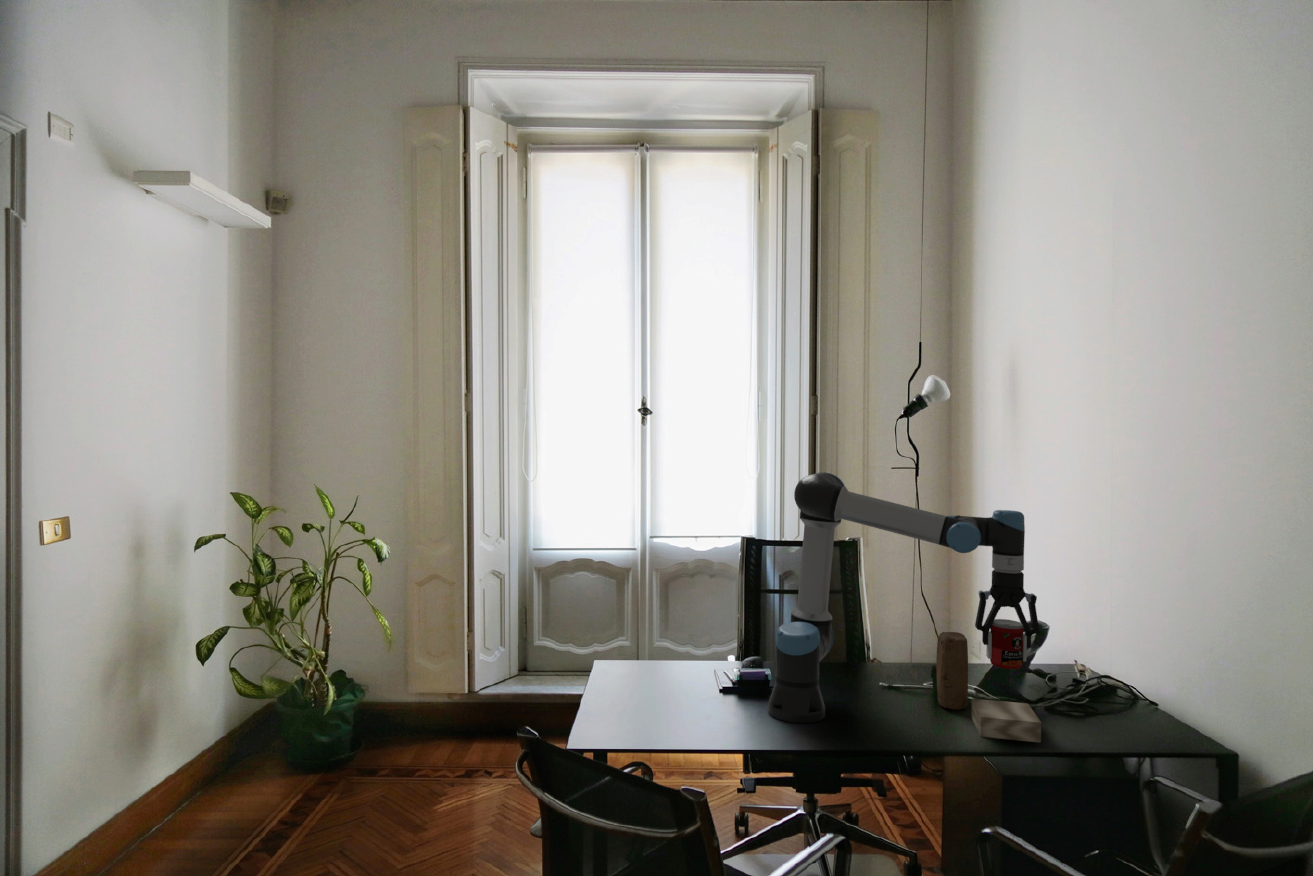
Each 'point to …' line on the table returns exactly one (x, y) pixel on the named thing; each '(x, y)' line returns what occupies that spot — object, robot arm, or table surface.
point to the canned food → (1007, 644)
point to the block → (952, 670)
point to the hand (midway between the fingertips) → (1006, 658)
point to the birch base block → (1006, 720)
